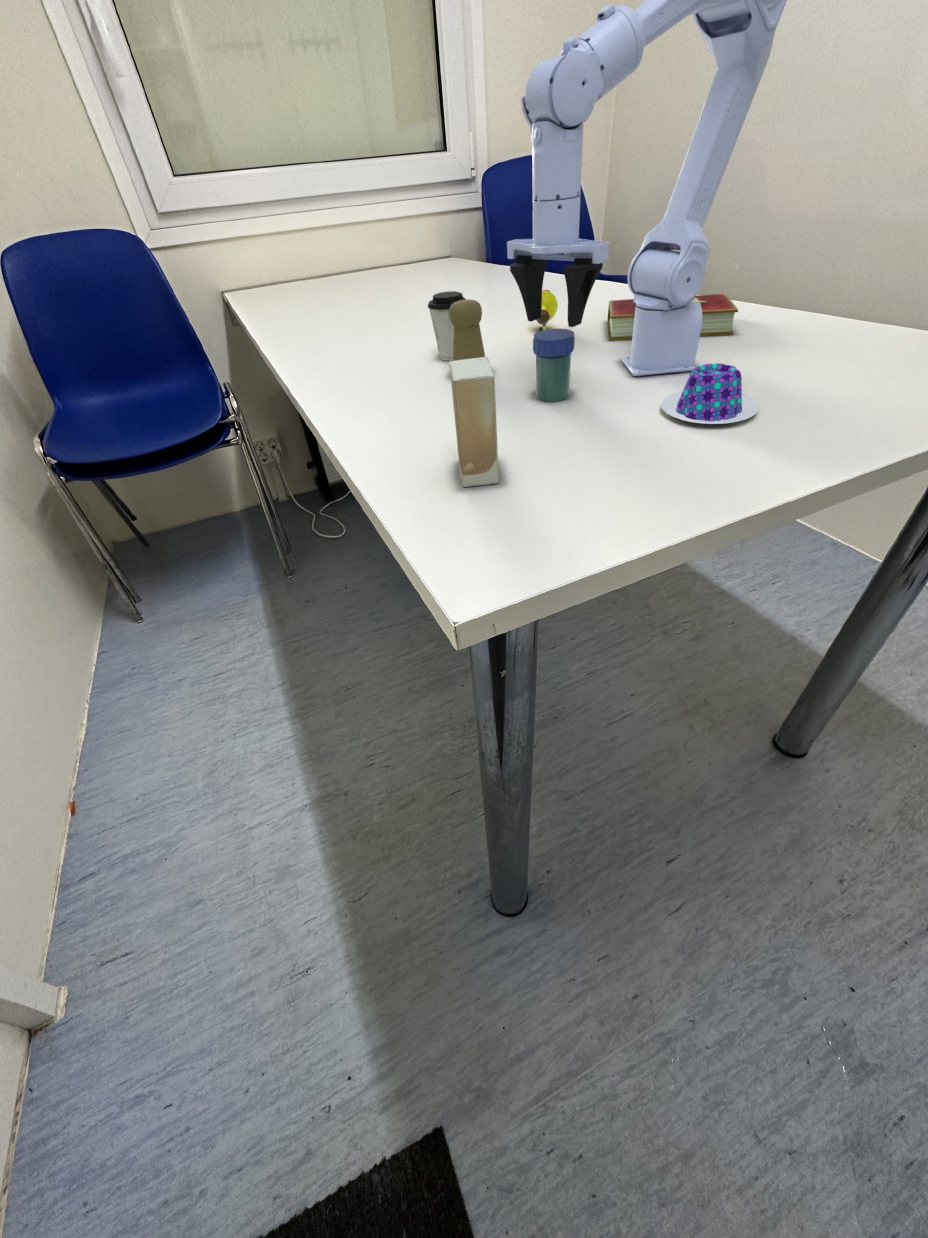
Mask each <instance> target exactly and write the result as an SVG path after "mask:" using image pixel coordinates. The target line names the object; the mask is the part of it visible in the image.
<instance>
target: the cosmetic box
mask: <svg viewBox="0 0 928 1238" xmlns="http://www.w3.org/2000/svg"><path fill="white" fill-rule="evenodd" d="M449 373H450V383H451V384H450V385H451V393H452V394H451V395H452V404H453V405H452V406H453V413H454V416H453V417H454V425H455V436H456V445H457V447H456V448H457V456H458V458H457V459H458V467H459V475H460V480H461V484H462V487H463V488H470V487H476V486H477V487H478V486H486V485H494V484H499V483H500V475H499V473H500V472H499V452H498V451H499V448H498V428H497V427H498V426H497V425H498V424H497V403H496V381H495V380H496V379H495V374H494V370H493V367H492V365H491V362H490V360H489V357H488V356H485V357H481V358H473V359H464V360H457V361H453V360H451V361H449Z"/></svg>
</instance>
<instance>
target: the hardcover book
mask: <svg viewBox="0 0 928 1238" xmlns="http://www.w3.org/2000/svg"><path fill="white" fill-rule="evenodd" d="M633 299H634V298H629V299H627V298H626V299H614V300H613V299H612V300H608V309H607V323H606V324H607V334H608V337H607V338H608V341H630V340H631V341H632V336H633V327H634V318H635V309H636V303H635V302H633ZM691 301H698V302H699V303H700V305H701V308H702V326H701V332H700V337H715V336H718V337H719V336H733V335H734V330H733V329H732V327H733V322H734V317H735V313H739V308H738V307H737V305H736V304H735V303H734V302H733V300H731V298H730V297H729V295H728V294H727V293H716V294H713V293H712V294H700V295H699V294H696V296H695V297H694V298H693V299H692V300H691Z"/></svg>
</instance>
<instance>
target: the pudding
mask: <svg viewBox="0 0 928 1238" xmlns="http://www.w3.org/2000/svg"><path fill="white" fill-rule="evenodd" d="M742 378H743V377H742V373H741V371H740V369H738V368H737V367H736V366H734V365H731V364H725V363H720V362H719V363H718V362H717V363H704V364H702V365H698V366H695V368H694V369H693V370H692V371H690V373H689V375H688V377H687V380H686V382H685V385H684V387H683V389H682V390H681V391H677V392H674V393H672V394H669V395H667V396H666V397H665V398H663V399H662V400H661V403H660V407H661V410H663V412H664V413H665V414H666V415H668V416H671V417H673V418H676V419H679V420H681V421H685V422H689V423H695V424H703V425H723V424H731V423H732V424H733V423H736V422H741V421H744V420H747V419H750V418H752V417H753V416H755V415H756V414H757V413H758V412H759V410H760V407H759V404H758V402H757V401H756V400H754V399H753V398H752V397H749V396H748V395H746V394H743V389H742V386H743V384H742V382H743V381H742Z"/></svg>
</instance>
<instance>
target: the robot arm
mask: <svg viewBox="0 0 928 1238" xmlns="http://www.w3.org/2000/svg"><path fill="white" fill-rule="evenodd" d="M787 2H788V0H643V1H642V2H641V3H640V4H639V5H637V6H636V7H635V9H632V8H631V7H629V6H627V5H624V4H620V5H616V6H615V5H614V4H613V3H611V4H608V5H606V6H604V7H602V8H601V9H600V10H598V11H597V12H596V15H595V16H596V22H595V23H594V24H592V25H591V26H590V27H588V29H587V30H586V31H584V32H583V33H582V34H580V35H579V36H578V37H575V36H571V37H568V38H567V39H565V40H564V41H563V42H562V43H561V48H562V50H561V51H560V53H559V55H558V56H556V57H552V58H547V59H545V60H544V59H543V60H542V61H540V62H538V64H536V65H535V67H534V68H533V69H532V70H531V72H530V77H529V78H528V79H527V82H526V85H525V90H524V92H525V93H524V95H523V96H522V97H521V98H520V103H521V110H522V113H523V117H524V119H525V121H526V123H527V125H528V127H529V130H530V131H529V132H530V144H531V145H532V147H531V152H532V153H531V154H532V155H531V157H532V160H531V162H532V166H531V167H532V168H531V171H532V175H531V176H532V177H531V178H532V181H531V182H532V186H531V187H532V238H516V239H511V240H509V241H507V242H506V253H507V259H508V260H515V261H514V263H511V264H509V271H510V273H511V275H512V277H513V279H514V280H515V282H516V284H517V287H518V289H519V292H520V295H521V298H522V302H523V305H524V309H525V310H524V311H525V314H526V318H527V322H534V321H536V320H537V319H539V318H540V317H541V310H542V291H543V284H544V278H545V272H546V268H547V264H548V260H549V261H563V262H564V261H567V262H573V263H571V264H568V265H564V266H563V267H562V272H563V275H564V280H565V284H566V295H567V325H568V327H569V328H575V327H577V326H579V325H581V324H582V321H583V319H584V313H585V310H586V307H587V303H588V300H589V297H590V293H591V291H592V289H593V287H594V285H595V282H596V281H597V278H598V276H599V275H600V273H601V271H602V269H603V266H604V263H605V262H608V261H609V253H610V242H609V241H600V240H591V239H585V238H580V217H581V215H580V214H581V188H582V165H583V145H584V144H583V142H584V141H583V140H584V123H585V122H587V121H588V119H589V118H590V116H591V114H592V112H593V110H594V108H595V104H596V103H597V102H598V101H600V100H601V99H602V98H603V97H604V96H606V95H607V94H608V93H610V91H612V90H613V89H615V88H616V87H617V86H618V85H620V84H621V83H622V82H623V81H624V80H626V79H627V78H628V77H630V75H632V74H633V73H634V72H636V71H637V69H638V68H639V66H640V63H641V61H642V58H643V54H644V50H645V48H646V47H647V46H648V45H650V44H651V43H652V42H654V41H655V40H656V39H658V38H659V37H661V36H662V35H663V34H665V33H667V32H668V31H669V30H670V29H672V28H673V27H674V26H676V25H678V24H679V23H680V22H681V21H683V20H684V19H686V18H687V17H688V16H692V18H693V20H694V22H695V25H696V27H697V29H698V31H699V33H700V35H701V37H702V39H703V42H704V43H705V46H706V47H707V50H708V52H709V54H710V55H711V56H713V57H714V59H715V64H716V71H715V73H714V76H713V78H712V82H711V84H710V87H709V90H708V93H707V95H706V99H705V102H704V105H703V107H702V109H701V113H700V114H699V115H700V116H699V118H698V121H697V124H696V126H695V129H694V131H693V136H692V138H691V140H690V143H689V145H688V146H689V147H688V149H687V152H686V154H685V157H684V161H683V163H682V166H681V168H680V170H679V171H680V172H679V174H678V177H677V179H676V183H675V184H674V185H675V186H674V188H673V191H672V194H671V197H670V200H669V203H668V205H667V207H666V211H665V213H664V216H663V218H662V220H660V222H659V223H658V224H656V225H655V226H653V228H652V229H650V230H649V231H648V232H647V233H646V234H645V236H644V239H643V241H642V244H641V247H640V249H639V250H638V252H637V253H636V254H635V255H634V257H633V258H632V260H631V261H630V262H631V263H630V264H629V267H628V272H627V279H626V280H627V286H628V289H629V292H630V293H632V295H633V298H632V299H633V302H635V303H636V309H635V318H634V327H633V336H632V340H631V347H630V356H626V357H622V358H621V362H622V363H623V364H624V365H625V367H626V368H627V370H628V371H629V372H630V374H631V375H632V376H633V377H642V376H643V377H644V376H651V375H652V376H653V375H663V374H672V373H682V372H692V370H693V369H694V368H695V367H696V366H695V364H696V359H697V358H696V357H697V355H698V348H699V342H700V338H701V336H700V332H701V326H702V308H701V305H700V303H699V302H698V301H691V300H692V299H693V298H694V297H695V296H696V295H698V293H699V292H700V289H701V288H702V284H703V282H704V278H705V272H706V264H707V260H708V257H709V255H710V253H711V249H712V248H711V245H710V243H709V241H708V239H707V237H706V235H705V233H704V231H703V228H704V225H705V223H706V220H707V218H708V215H709V213H710V211H711V208H712V205H713V202H714V200H715V198H716V195H717V193H718V191H719V187H720V185H721V182H722V180H723V177H724V175H725V172H726V170H727V167H728V164H729V162H730V159H731V157H732V154H733V152H734V149H735V146H736V144H737V141H738V139H739V136H740V133H741V131H742V128H743V126H744V123H745V121H746V119H747V116H748V113H749V111H750V108H751V106H752V103H753V100H754V97H755V95H756V92H757V90H758V88H759V85H760V83H761V80H762V77H763V74H764V72H765V69H766V67H767V64H768V63H769V58H770V55H771V52H772V48H773V43H774V38H775V34H776V30H777V28H778V25H779V22H780V20H781V17H782V14H783V12H784V9H785V7H786V4H787Z"/></svg>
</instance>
